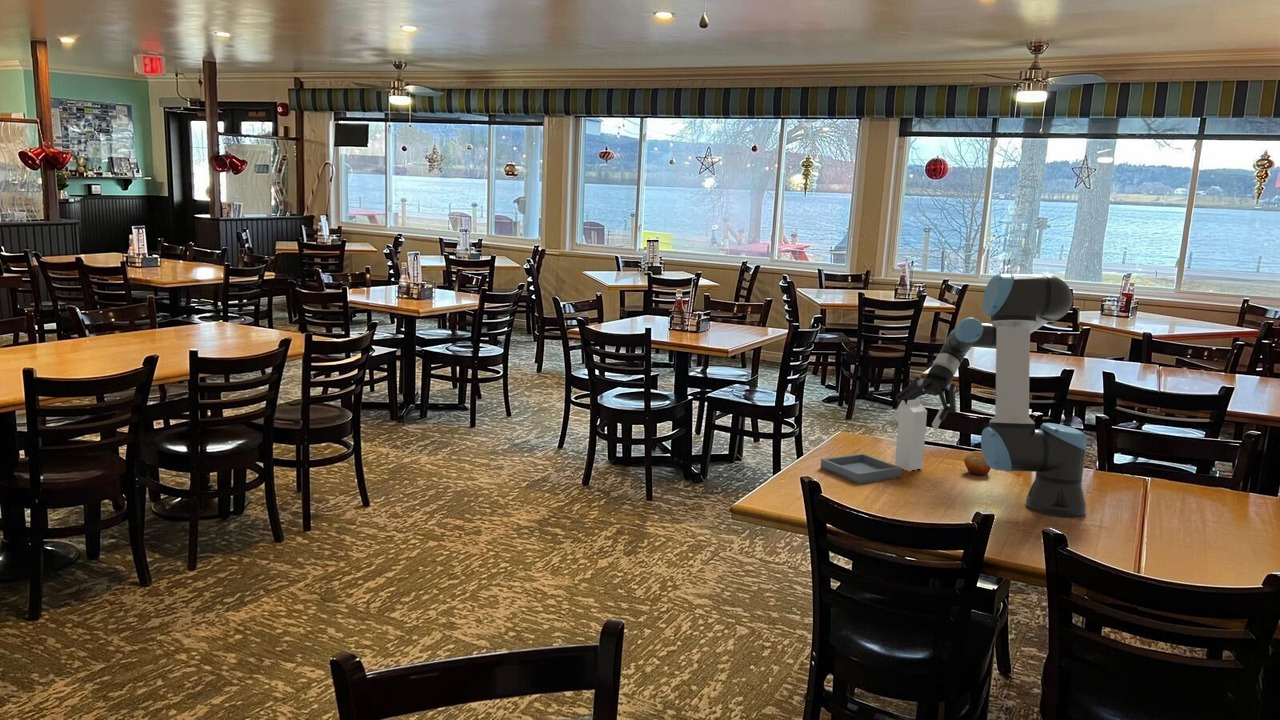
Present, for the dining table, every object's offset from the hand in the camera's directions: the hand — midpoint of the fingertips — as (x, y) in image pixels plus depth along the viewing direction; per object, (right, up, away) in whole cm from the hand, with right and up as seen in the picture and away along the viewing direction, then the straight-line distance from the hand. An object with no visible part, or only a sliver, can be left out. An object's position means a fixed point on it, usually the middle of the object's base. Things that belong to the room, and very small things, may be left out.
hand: (914, 422), depth 294 cm
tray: (-19, -15, -7) cm, 25 cm away
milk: (-2, -14, 0) cm, 14 cm away
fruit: (+18, -16, -4) cm, 24 cm away
